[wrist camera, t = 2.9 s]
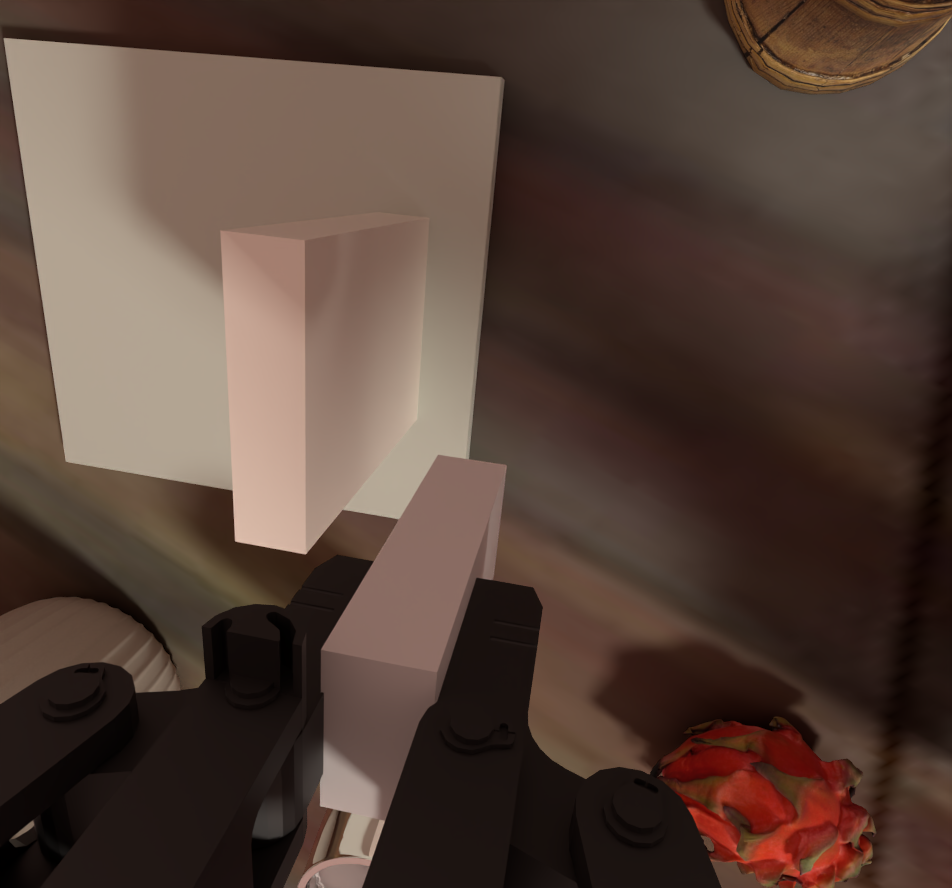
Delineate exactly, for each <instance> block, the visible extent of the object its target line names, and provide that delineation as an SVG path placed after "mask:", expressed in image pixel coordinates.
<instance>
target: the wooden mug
mask: <svg viewBox="0 0 952 888" xmlns="http://www.w3.org/2000/svg"><path fill="white" fill-rule="evenodd" d="M724 2H725V7H726V12H727V17H728V22H729V24H730V26H731V28H732V30H733V32H734V34H735V37H736V39H737V41H738V43H739V45H740V47H741V49H742V51H743V53H744V55H745V56H746V58H747V60H748V62H749V63H750V65H751V67H752V69H753V71H754V72H756V73H757V74H759V75H760V76H762V77H763V78H765V79H766V80H768V81H769V82H771V83H772V84H774V85H775V86H777V87H778V88H780V89H782V90H788V91H794V92H800V93H805V94H837V93H842V92H846V91H849V90H853V89H856V88H860V87H863V86H867V85H870V84H872V83H874V82H875V81H877V80H879V79H881V78H883V77H884V76H886V75H888V74H890V73H891V72H893V71H895V70H897V69H899V68H900V67H902V66H903V65H904V64H905V63H906V62H908V61H909V60H910V59H911V58H912V57H913V56H915V55H916V54H917V53H918V52H919V51H920V50H922V49H923V48H924V47H925V46H926V45H927V44H929V43H930V42H931V41H932V40H933V39H934V38H935V37H936V36H937V35H938V34H939V33H940V32H941V30H942V29H943V28H944V26H945V25H946V23H947V22H948V21H949V19H950V18H951V17H952V0H724Z"/></svg>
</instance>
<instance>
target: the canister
mask: <svg viewBox="0 0 952 888" xmlns="http://www.w3.org/2000/svg"><path fill="white" fill-rule="evenodd" d="M95 662H105V663H109V664H113V665H117V666H121V667H122V668H124V669H125V670H126V671H127V672H129V673H130V674H131V675H132V677H133V681H134V686H135V691H136V693H140V692H159V691H179V690H181V688H180V679H179V677H178V676H177V674H176V667H175V666H174V665H173V664H172V662H171V660H170V655H169V654H167V653H166V652H165V650H164V648H163V645H162V644H161V643H159V642H158V641H157V640H156V639H155V637H154V636H153V633H150V632H149V631H147V630H146V629H145V628H144V626H143V624H140V623H138V622H136V621H135V620H134V619H133V618H132V616H130V615H127V614H125V613H123V612H121V611H120V609H118V608H112V607H110V606H109V605H108V604H106V603H102V602H100V603H99V602H96V601H94V600H93V599H82V598H80V597H54V598H50V599H44V600H38V601H35V602H31V603H29V604H27V605H24V606H22V607H19V608H16V609H14V610H12V611H9V612H7V613H5V614H3V615H1V616H0V704H1V703H3V702H4V701H6V700H7V699H9V698H10V697H12V696H14V695H15V694H17V693H18V692H20V691H21V690H23V689H24V688H26V687H28V686H29V685H31V684H32V683H34V682H35V681H37V680H39V679H41V678H43V677H45V676H47V675H49V674H51V673H53V672H55V671H57V670H59V669H62V668H66V667H69V666H73V665H77V664H81V663H95ZM33 826H34V822H33V821H31V822H30V823H29V824H28V825H27V826H25V827H24V828H23V829H22V830H20V831H19V832H18V833H17V834H16V835H14V836H13V837H12V838H11V839H15V838H17V837H18V836H20V835H22V834H23V833H25V832H27V831H28V830H29V829H31V828H32V827H33Z"/></svg>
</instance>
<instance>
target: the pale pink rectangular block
mask: <svg viewBox="0 0 952 888" xmlns="http://www.w3.org/2000/svg"><path fill="white" fill-rule="evenodd" d="M220 233H221V254H222V275H223V296H224V317H225V338H226V359H227V380H228V401H229V422H230V443H231V464H232V485H233V506H234V527H235V542H241V543H246V544H252V545H257V546H263V547H268V548H273V549H279V550H284V551H290V552H295V553H301V554H307V552H308V551H309V550H310V549H311V547H312V546H313V545H314V544H315V543H316V541H317V540H318V539H319V538H320V537H321V535H322V534H323V533H324V532H325V530H326V529H327V528H328V527H329V526H330V524H331V523H332V522H333V521H334V520H335V518H336V517H337V516H338V515H339V513H340V512H341V511H342V510H343V509H344V507H345V506H346V505H347V504H348V503H349V501H350V500H351V499H352V498H353V496H354V495H355V494H356V493H357V492H358V490H359V489H360V488H361V487H362V486H363V484H364V483H365V482H366V481H367V479H368V478H369V477H370V476H371V475H372V473H373V472H374V471H375V470H376V468H377V467H378V466H379V465H380V464H381V462H382V461H383V460H384V459H385V458H386V456H387V455H388V454H389V453H390V451H391V450H392V449H393V448H394V447H395V445H396V444H397V443H398V442H399V441H400V439H401V438H402V437H403V436H404V434H405V433H406V432H407V431H408V430H409V428H410V427H411V426H412V425H413V424H414V422H415V421H416V420H417V410H418V394H419V378H420V362H421V346H422V330H423V314H424V298H425V282H426V266H427V250H428V234H429V218H427V217H418V216H409V215H399V214H390V213H381V212H375V213H366V214H358V215H349V216H340V217H332V218H323V219H315V220H306V221H297V222H289V223H280V224H272V225H263V226H254V227H246V228H237V229H228V230H220Z"/></svg>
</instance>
